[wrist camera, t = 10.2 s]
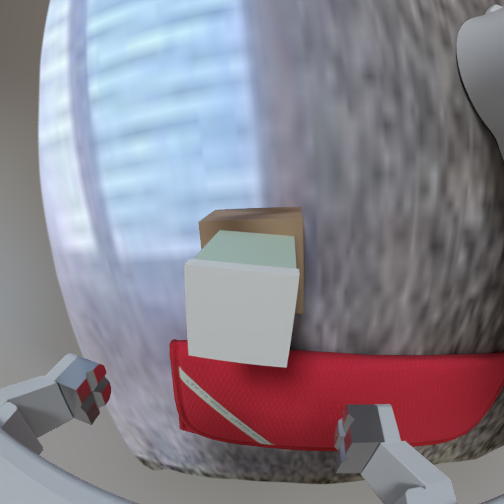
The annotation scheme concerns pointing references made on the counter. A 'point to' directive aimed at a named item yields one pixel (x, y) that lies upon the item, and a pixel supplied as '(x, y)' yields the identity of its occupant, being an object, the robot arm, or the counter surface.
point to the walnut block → (260, 230)
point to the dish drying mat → (332, 395)
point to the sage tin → (242, 298)
